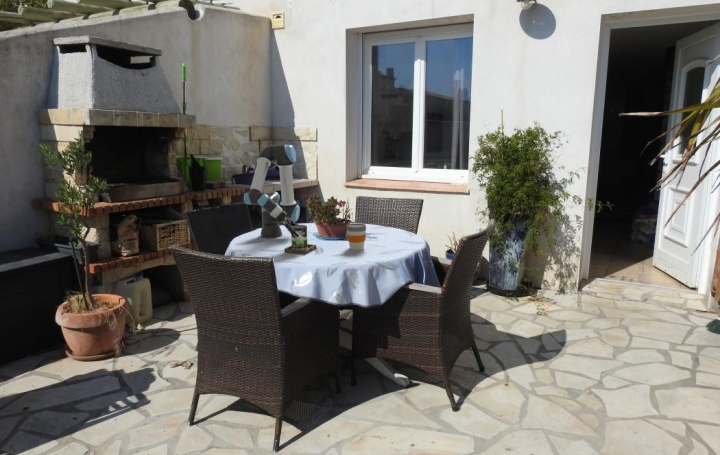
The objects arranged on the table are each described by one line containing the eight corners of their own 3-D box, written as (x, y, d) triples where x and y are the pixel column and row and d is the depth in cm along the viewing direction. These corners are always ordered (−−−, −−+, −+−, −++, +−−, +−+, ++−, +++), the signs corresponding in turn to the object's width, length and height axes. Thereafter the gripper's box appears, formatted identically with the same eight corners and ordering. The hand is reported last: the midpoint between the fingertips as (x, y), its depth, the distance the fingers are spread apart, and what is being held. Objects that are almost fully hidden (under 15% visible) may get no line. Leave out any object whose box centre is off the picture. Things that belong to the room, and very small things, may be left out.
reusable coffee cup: (349, 251, 330) (349, 228, 326) (344, 246, 341) (344, 224, 338) (368, 249, 333) (368, 226, 330) (363, 245, 345) (363, 222, 342)
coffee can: (308, 249, 331) (307, 227, 328) (292, 250, 329) (291, 228, 326) (307, 245, 341) (306, 224, 338) (291, 246, 339) (290, 225, 336)
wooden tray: (295, 246, 343) (295, 243, 343) (316, 248, 338) (316, 244, 337) (284, 252, 330) (284, 248, 329) (305, 254, 324) (305, 250, 324)
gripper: (278, 214, 342) (302, 236, 345) (271, 222, 318) (297, 246, 320) (286, 206, 341) (309, 228, 344) (279, 213, 316) (305, 237, 319)
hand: (303, 237), depth 332 cm, fingers open, 13 cm apart
